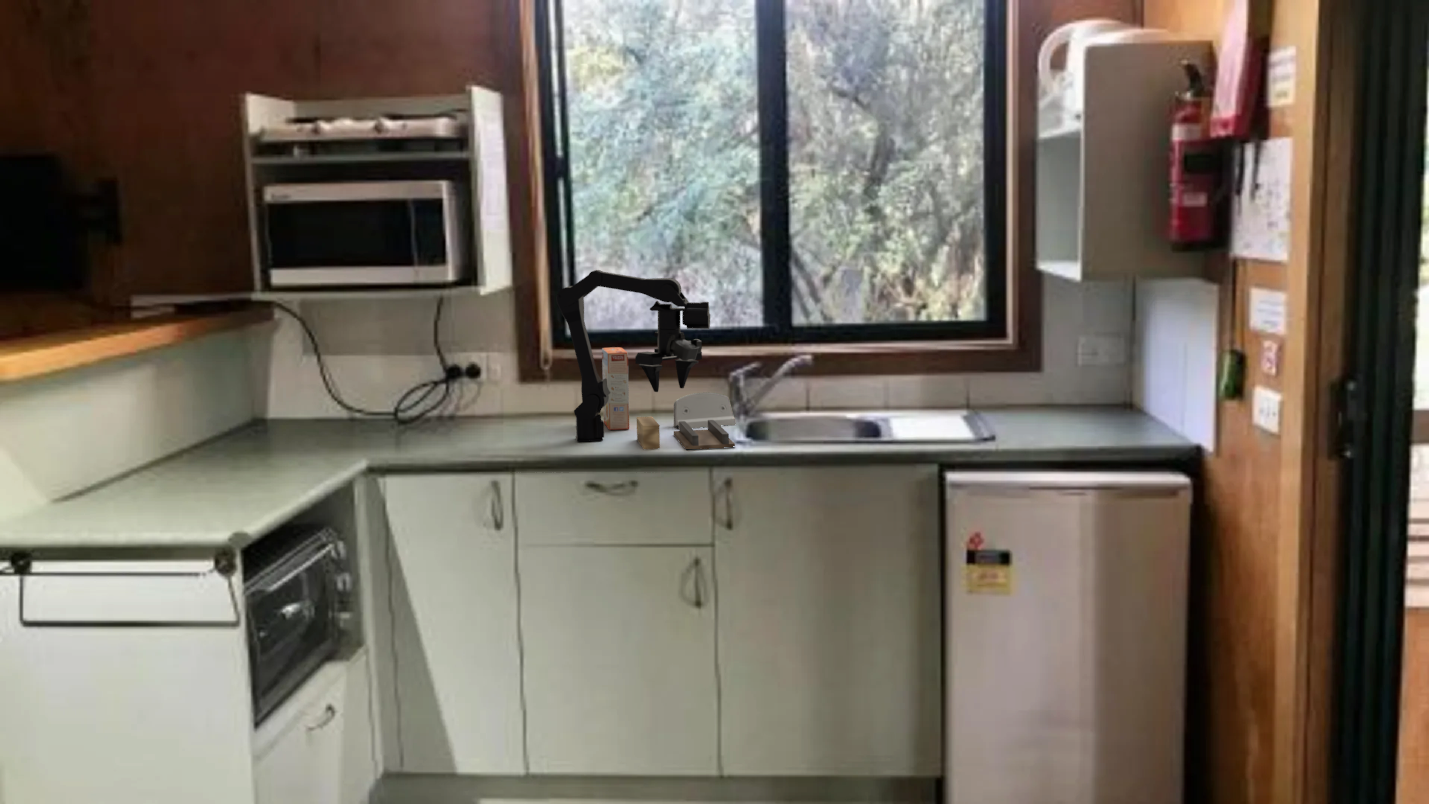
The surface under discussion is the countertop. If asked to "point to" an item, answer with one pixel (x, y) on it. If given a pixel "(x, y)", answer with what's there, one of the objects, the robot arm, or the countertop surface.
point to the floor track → (703, 436)
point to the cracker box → (616, 388)
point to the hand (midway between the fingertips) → (669, 390)
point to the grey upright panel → (703, 410)
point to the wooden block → (648, 433)
